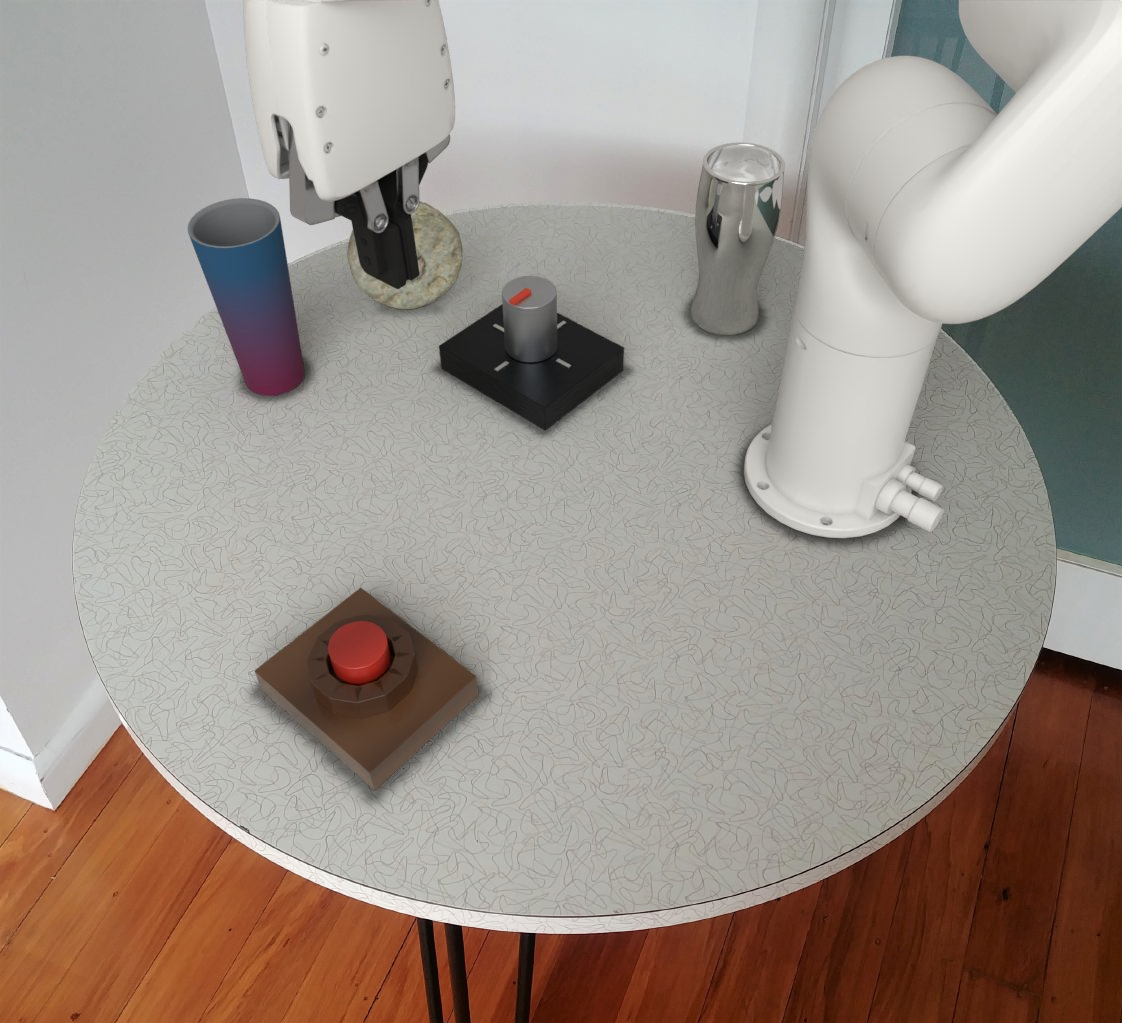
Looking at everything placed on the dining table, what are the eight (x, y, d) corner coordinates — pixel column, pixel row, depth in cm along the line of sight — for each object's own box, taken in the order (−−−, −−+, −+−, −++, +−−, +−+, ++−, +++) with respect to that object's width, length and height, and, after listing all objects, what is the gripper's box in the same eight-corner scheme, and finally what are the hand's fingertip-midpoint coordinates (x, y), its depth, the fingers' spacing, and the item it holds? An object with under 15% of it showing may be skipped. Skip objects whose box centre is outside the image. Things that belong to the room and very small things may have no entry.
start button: (402, 658, 66) (399, 641, 65) (359, 695, 64) (354, 678, 63) (364, 627, 68) (360, 611, 66) (320, 663, 66) (315, 646, 65)
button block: (479, 695, 68) (475, 659, 66) (374, 791, 64) (365, 757, 61) (365, 606, 73) (356, 569, 71) (261, 689, 69) (247, 654, 66)
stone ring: (355, 317, 96) (337, 219, 89) (356, 294, 98) (339, 197, 91) (467, 309, 97) (459, 212, 89) (466, 287, 99) (457, 190, 92)
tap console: (623, 370, 91) (624, 346, 89) (545, 431, 86) (544, 406, 84) (520, 315, 96) (519, 290, 94) (441, 368, 91) (438, 344, 89)
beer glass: (725, 349, 92) (746, 194, 81) (669, 313, 96) (682, 160, 85) (779, 317, 95) (806, 164, 84) (722, 283, 99) (741, 132, 88)
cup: (276, 413, 87) (234, 257, 76) (217, 384, 90) (167, 230, 79) (331, 368, 91) (298, 214, 80) (273, 342, 94) (233, 189, 83)
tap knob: (528, 323, 91) (525, 266, 87) (568, 343, 89) (567, 285, 85) (494, 348, 89) (490, 291, 84) (534, 369, 87) (532, 311, 83)
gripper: (393, -123, 54) (434, 199, 67) (147, -30, 46) (249, 313, 60) (503, -94, 51) (523, 239, 64) (257, 11, 43) (339, 365, 56)
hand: (391, 274), depth 62 cm, fingers closed
